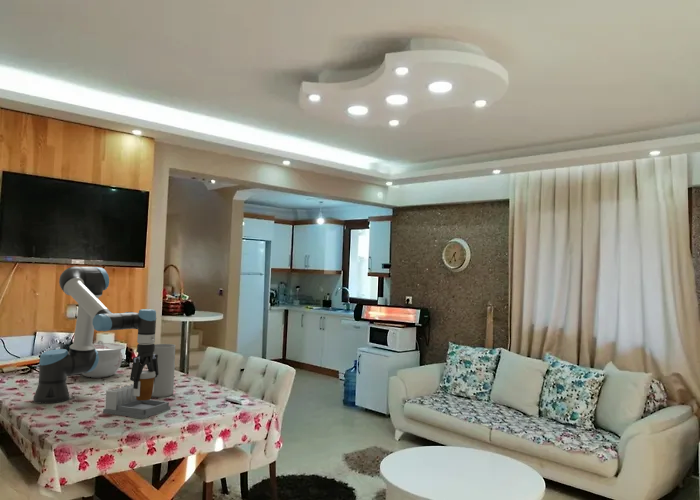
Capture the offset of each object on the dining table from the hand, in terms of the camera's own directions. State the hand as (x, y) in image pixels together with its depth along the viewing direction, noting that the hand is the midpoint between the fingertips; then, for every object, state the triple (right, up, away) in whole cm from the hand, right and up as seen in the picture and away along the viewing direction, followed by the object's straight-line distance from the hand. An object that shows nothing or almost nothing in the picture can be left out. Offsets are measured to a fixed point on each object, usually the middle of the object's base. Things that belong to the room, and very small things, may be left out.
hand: (143, 393), depth 245 cm
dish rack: (-3, -8, +1) cm, 9 cm away
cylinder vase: (-4, -9, +33) cm, 35 cm away
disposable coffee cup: (0, -3, 0) cm, 3 cm away
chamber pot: (-55, -9, +74) cm, 93 cm away
